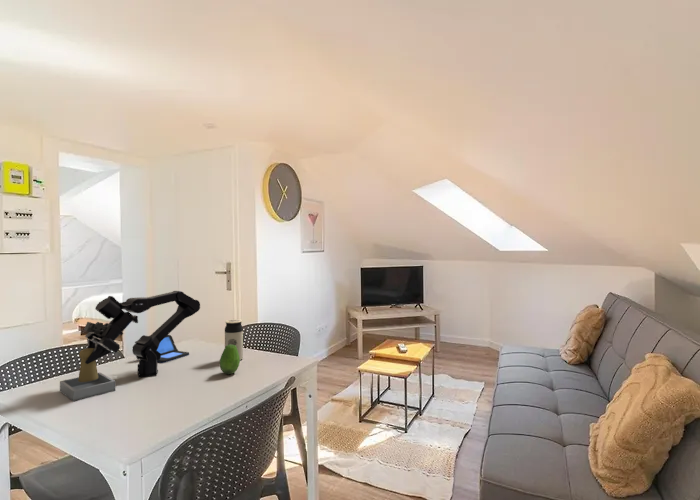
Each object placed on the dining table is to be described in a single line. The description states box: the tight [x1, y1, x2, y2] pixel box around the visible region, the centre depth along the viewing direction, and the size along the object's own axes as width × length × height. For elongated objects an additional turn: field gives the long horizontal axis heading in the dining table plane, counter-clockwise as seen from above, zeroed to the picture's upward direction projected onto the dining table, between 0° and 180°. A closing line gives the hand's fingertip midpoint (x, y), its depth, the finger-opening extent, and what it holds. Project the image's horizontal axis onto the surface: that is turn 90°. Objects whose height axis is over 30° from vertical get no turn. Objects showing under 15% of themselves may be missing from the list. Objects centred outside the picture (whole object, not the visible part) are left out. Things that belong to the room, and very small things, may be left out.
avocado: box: [219, 344, 241, 375], centre depth 154 cm, size 8×8×12 cm
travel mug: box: [224, 318, 244, 361], centre depth 174 cm, size 8×8×18 cm
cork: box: [78, 347, 99, 382], centre depth 136 cm, size 6×6×11 cm
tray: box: [59, 371, 116, 402], centre depth 136 cm, size 16×13×4 cm
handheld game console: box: [157, 334, 190, 364], centre depth 178 cm, size 16×13×9 cm
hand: (83, 361), depth 135 cm, fingers closed on cork, 5 cm apart
